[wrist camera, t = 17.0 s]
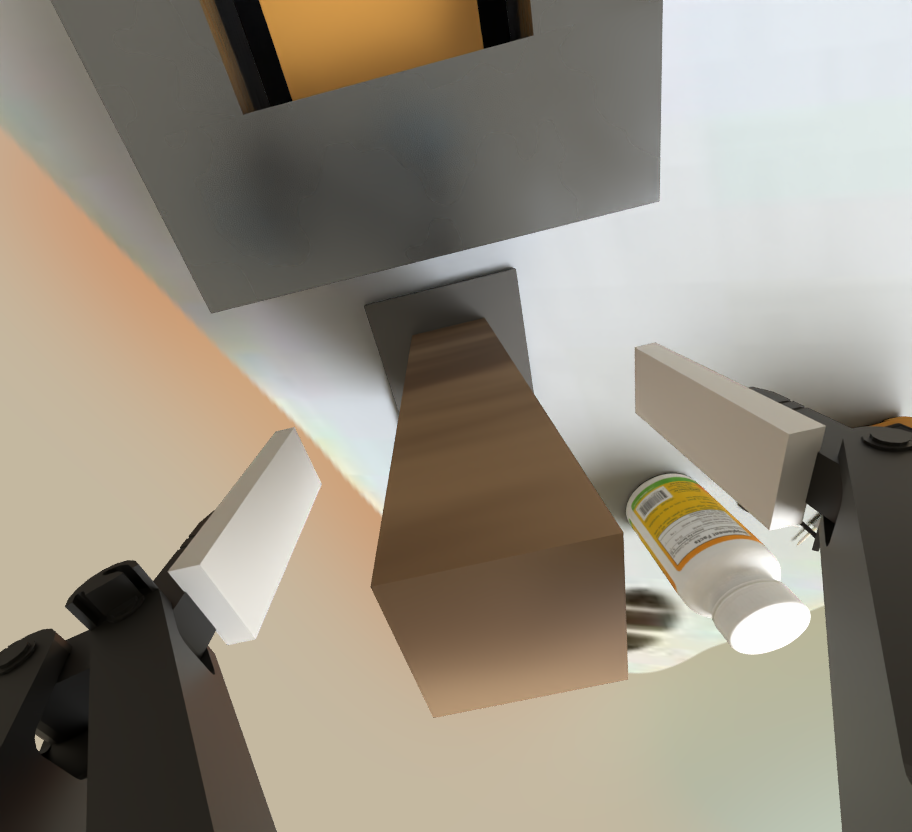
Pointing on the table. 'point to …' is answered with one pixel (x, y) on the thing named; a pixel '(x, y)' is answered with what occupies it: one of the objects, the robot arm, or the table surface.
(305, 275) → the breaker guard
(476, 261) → the table surface
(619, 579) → the brown rectangular block
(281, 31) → the button
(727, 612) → the supplement bottle
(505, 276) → the rest mat
